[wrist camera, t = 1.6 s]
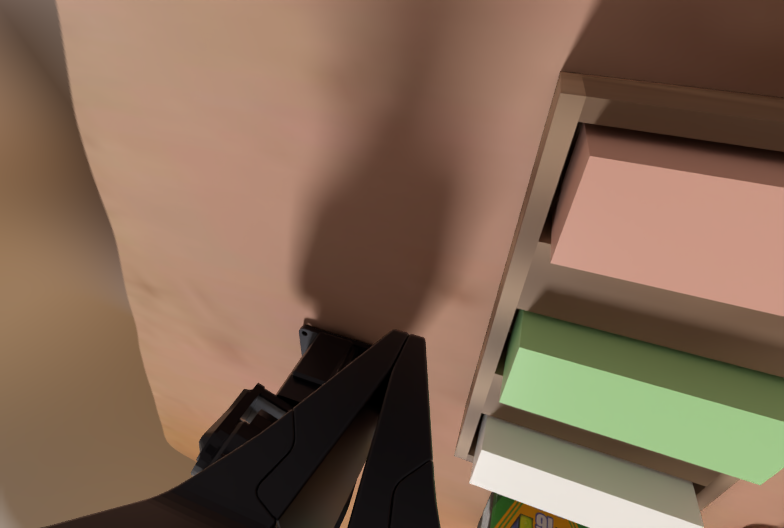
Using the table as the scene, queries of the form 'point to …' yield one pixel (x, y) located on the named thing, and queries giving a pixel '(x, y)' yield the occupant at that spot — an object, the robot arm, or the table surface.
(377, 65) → the table surface
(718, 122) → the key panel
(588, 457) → the white rectangular block
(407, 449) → the robot arm
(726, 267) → the pink block
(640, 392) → the green block
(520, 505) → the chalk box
